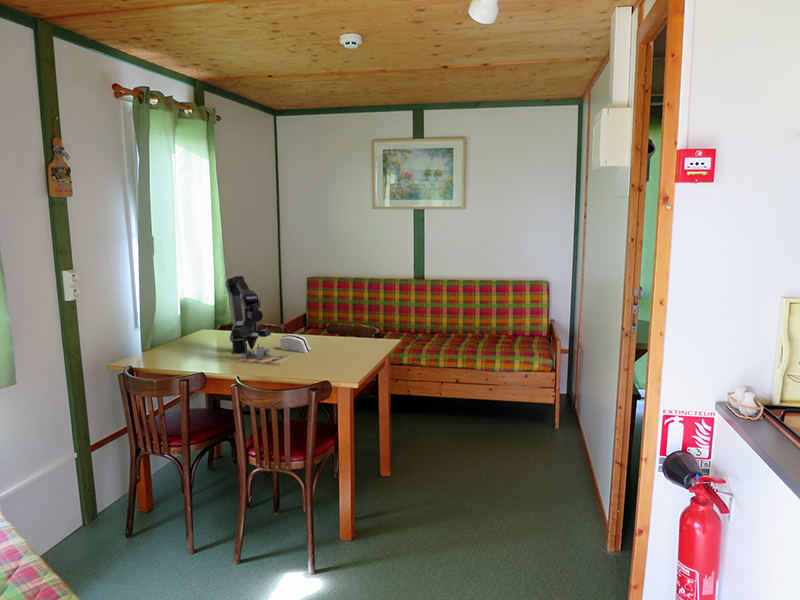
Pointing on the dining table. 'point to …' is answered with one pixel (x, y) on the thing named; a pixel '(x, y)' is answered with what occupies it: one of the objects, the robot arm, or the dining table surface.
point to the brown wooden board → (265, 360)
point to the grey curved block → (294, 343)
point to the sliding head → (261, 351)
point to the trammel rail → (251, 353)
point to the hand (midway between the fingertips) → (251, 349)
